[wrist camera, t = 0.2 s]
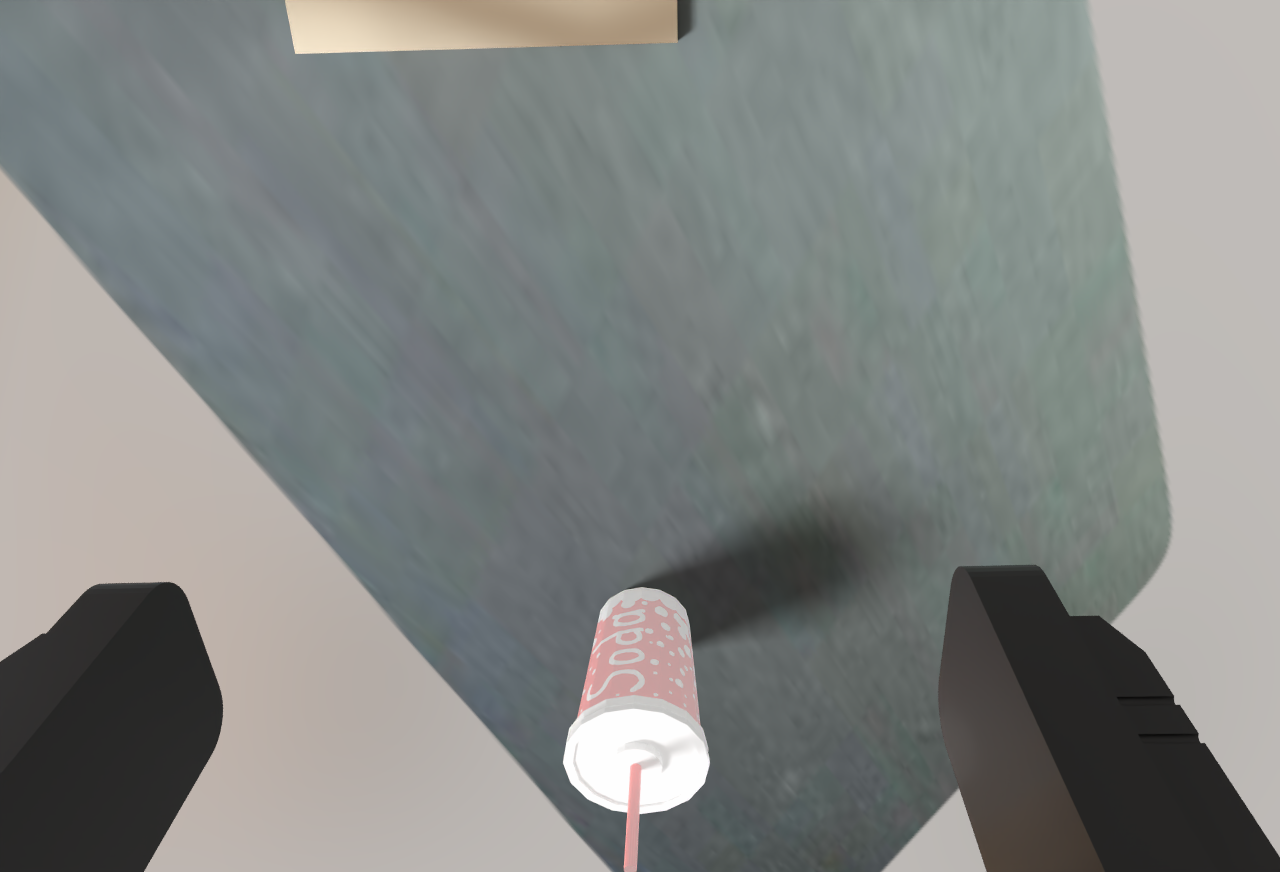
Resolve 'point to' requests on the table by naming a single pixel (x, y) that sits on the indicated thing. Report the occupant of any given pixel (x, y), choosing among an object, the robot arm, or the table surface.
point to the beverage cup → (639, 713)
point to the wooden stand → (476, 24)
